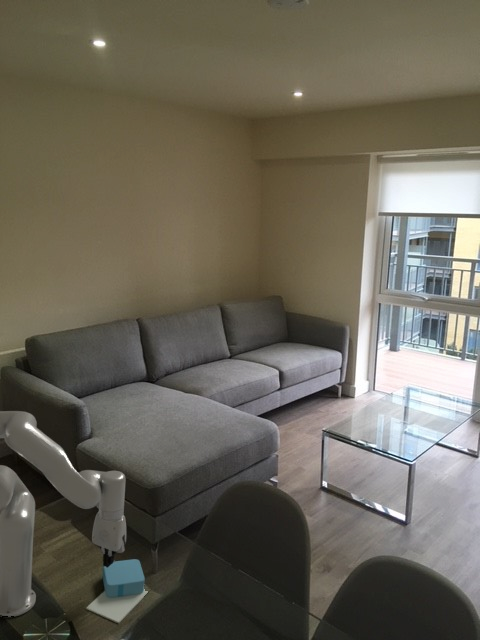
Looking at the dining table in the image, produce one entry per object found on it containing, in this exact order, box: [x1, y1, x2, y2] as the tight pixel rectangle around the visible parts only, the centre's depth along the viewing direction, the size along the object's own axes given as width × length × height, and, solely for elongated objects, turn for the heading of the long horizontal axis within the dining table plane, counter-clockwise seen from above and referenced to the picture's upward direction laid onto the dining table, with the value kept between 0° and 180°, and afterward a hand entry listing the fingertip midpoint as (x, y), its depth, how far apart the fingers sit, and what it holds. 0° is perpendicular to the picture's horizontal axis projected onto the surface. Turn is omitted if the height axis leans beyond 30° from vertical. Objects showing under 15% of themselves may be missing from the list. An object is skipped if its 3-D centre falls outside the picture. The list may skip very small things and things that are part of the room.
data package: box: [102, 558, 146, 598], centre depth 175 cm, size 12×4×12 cm
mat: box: [85, 589, 149, 624], centre depth 169 cm, size 12×18×1 cm, turn 157°
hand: (108, 564), depth 170 cm, fingers closed
